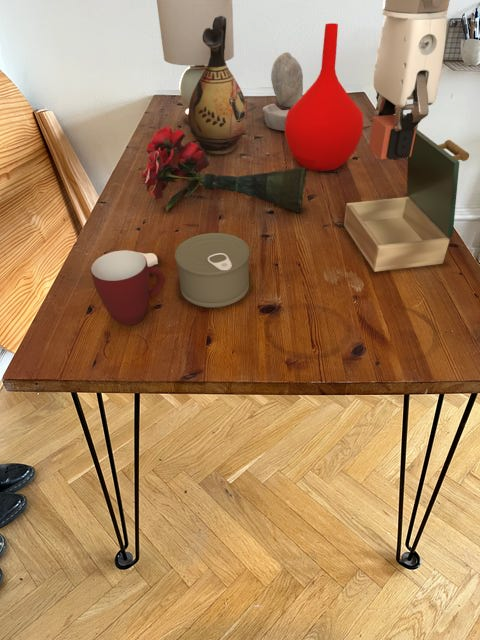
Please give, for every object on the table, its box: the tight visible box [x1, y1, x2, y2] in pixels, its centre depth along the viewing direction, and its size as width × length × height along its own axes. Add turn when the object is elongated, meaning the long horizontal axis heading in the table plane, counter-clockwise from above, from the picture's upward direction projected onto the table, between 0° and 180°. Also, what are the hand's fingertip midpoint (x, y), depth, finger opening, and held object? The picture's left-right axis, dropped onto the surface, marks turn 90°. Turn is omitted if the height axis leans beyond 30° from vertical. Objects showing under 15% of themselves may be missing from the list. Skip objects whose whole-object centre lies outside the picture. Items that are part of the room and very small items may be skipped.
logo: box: [137, 251, 159, 267], centre depth 86 cm, size 6×1×8 cm
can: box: [174, 232, 251, 308], centre depth 79 cm, size 12×12×7 cm
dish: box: [262, 103, 291, 132], centre depth 139 cm, size 14×14×5 cm
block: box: [368, 113, 416, 160], centre depth 68 cm, size 4×4×4 cm
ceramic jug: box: [187, 16, 249, 156], centre depth 120 cm, size 17×15×30 cm
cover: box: [406, 128, 470, 239], centre depth 83 cm, size 14×17×5 cm
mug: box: [90, 249, 165, 327], centre depth 73 cm, size 11×8×10 cm
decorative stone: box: [270, 52, 304, 109], centre depth 152 cm, size 15×10×15 cm
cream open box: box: [343, 196, 451, 272], centre depth 88 cm, size 13×17×5 cm
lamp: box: [156, 0, 235, 123], centre depth 136 cm, size 20×20×35 cm
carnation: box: [140, 126, 308, 214], centre depth 102 cm, size 16×18×35 cm
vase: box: [284, 22, 364, 172], centre depth 110 cm, size 18×18×30 cm
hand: (390, 149), depth 69 cm, fingers closed on block, 4 cm apart
